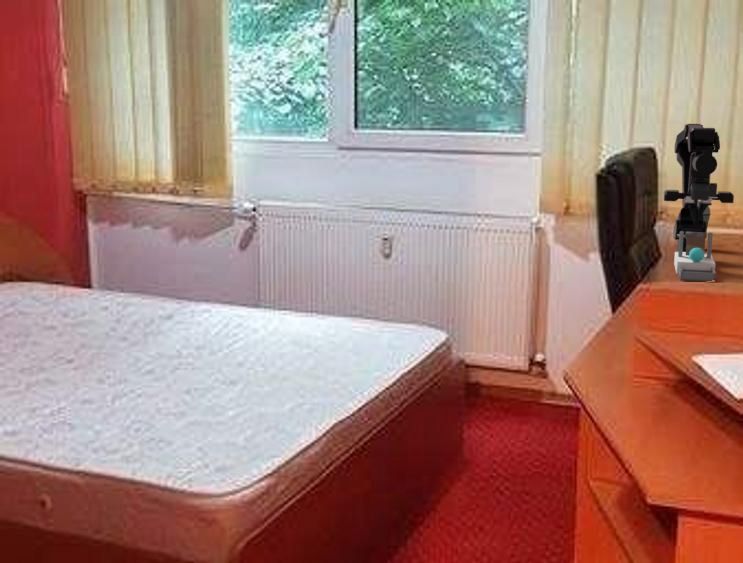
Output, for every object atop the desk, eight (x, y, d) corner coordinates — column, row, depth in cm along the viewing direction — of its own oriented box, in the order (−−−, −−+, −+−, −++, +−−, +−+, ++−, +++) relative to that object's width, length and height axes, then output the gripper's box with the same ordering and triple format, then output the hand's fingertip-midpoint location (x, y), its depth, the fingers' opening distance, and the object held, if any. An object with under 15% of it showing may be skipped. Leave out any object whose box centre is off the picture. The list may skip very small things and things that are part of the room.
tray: (678, 274, 261) (679, 265, 261) (712, 276, 259) (713, 267, 258) (680, 280, 253) (680, 271, 252) (715, 282, 250) (716, 273, 250)
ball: (689, 244, 261) (689, 255, 258) (704, 245, 260) (704, 256, 257) (688, 253, 264) (688, 264, 261) (703, 253, 263) (703, 265, 260)
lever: (683, 257, 271) (684, 234, 272) (703, 258, 270) (704, 235, 270) (684, 254, 266) (686, 231, 267) (705, 255, 264) (706, 232, 265)
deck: (674, 263, 278) (676, 227, 275) (709, 264, 275) (712, 229, 273) (676, 274, 262) (679, 236, 259) (714, 276, 259) (717, 238, 257)
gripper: (666, 173, 261) (663, 228, 264) (737, 175, 256) (733, 231, 259) (665, 170, 271) (661, 223, 274) (733, 172, 266) (729, 226, 270)
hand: (695, 226), depth 269 cm, fingers closed
